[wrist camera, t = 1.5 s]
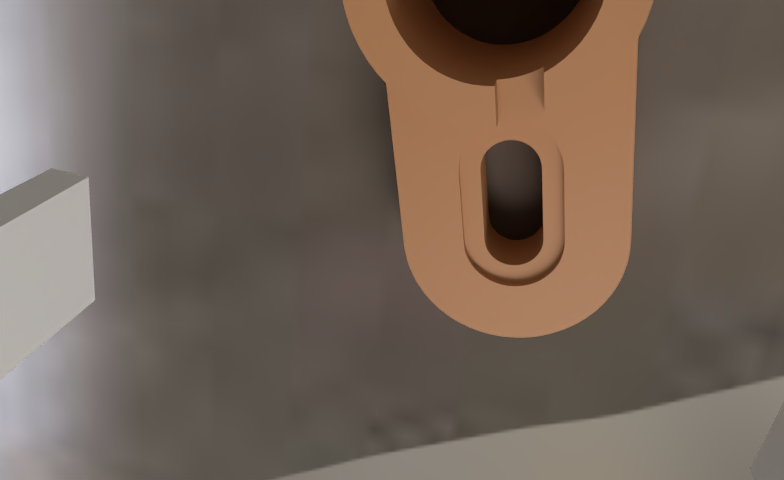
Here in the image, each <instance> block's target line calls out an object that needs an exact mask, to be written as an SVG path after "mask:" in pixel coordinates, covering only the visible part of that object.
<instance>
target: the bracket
mask: <svg viewBox="0 0 784 480" xmlns="http://www.w3.org/2000/svg"><path fill="white" fill-rule="evenodd" d="M343 3H344V8H345V12H346V16H347V19H348V21H349V24H350V27H351V30H352V32H353V35H354V37H355V39H356V41H357V43H358V45H359V47H360V49H361V51H362V52H363V54H364V56H365V57H366V59H367V61H368V62H369V63H370V65H371V66H372V67H373V69H374V70H375V72H376V73H377V74H378V75H379V76H380V77H381V78H382V79H383V81H384V82H385V83H386V87H387V96H388V105H389V114H390V122H391V131H392V140H393V149H394V158H395V167H396V176H397V185H398V194H399V203H400V212H401V221H402V230H403V239H404V247H405V253H406V257H407V260H408V264H409V266H410V269H411V271H412V274H413V276H414V277H415V279H416V281H417V283H418V285H419V286H420V287H421V289H422V290H423V292H424V293H425V294H426V295H427V297H428V298H429V299H430V300H431V301H432V302H433V303H434V304H435V305H436V306H437V307H438V308H439V309H440V310H442V311H443V312H444V313H446V314H447V315H448V316H450V317H451V318H453V319H455V320H456V321H458V322H460V323H462V324H464V325H466V326H468V327H470V328H473V329H475V330H478V331H481V332H484V333H488V334H492V335H497V336H504V337H535V336H541V335H547V334H551V333H554V332H558V331H561V330H563V329H566V328H568V327H570V326H573V325H575V324H577V323H579V322H580V321H582V320H583V319H585V318H587V317H588V316H590V315H591V314H592V313H593V312H595V311H596V310H597V309H598V308H599V307H600V306H601V305H602V304H603V303H605V301H606V300H607V299H608V298H609V297H610V295H611V294H612V293H613V292H614V290H615V288H616V287H617V285H618V284H619V282H620V280H621V278H622V276H623V274H624V271H625V268H626V266H627V263H628V258H629V254H630V246H631V226H632V198H633V169H634V141H635V112H636V84H637V55H638V37H639V35H640V33H641V31H642V29H643V27H644V25H645V23H646V20H647V17H648V15H649V12H650V9H651V7H652V4H653V0H580V1H579V2H578V3H577V5H576V6H575V8H574V9H573V10H572V11H571V13H570V14H569V15H568V16H567V17H566V18H565V19H564V20H563V21H562V22H561V23H560V24H558V25H557V26H556V27H554V28H553V29H552V30H550V31H549V32H547V33H545V34H543V35H541V36H539V37H537V38H535V39H532V40H529V41H526V42H522V43H517V44H510V45H498V44H490V43H485V42H481V41H478V40H475V39H473V38H471V37H468V36H466V35H465V34H463V33H461V32H460V31H458V30H457V29H456V28H454V27H453V26H452V25H451V24H450V23H449V22H448V21H447V20H446V19H445V18H444V17H443V16H442V15H441V13H440V12H439V11H438V9H437V8H436V6H435V4H434V3H433V1H432V0H343ZM505 140H517V141H521V142H524V143H526V144H528V145H529V146H531V147H532V148H533V149H534V150H535V151H536V152H537V154H538V155H539V158H540V160H541V164H542V194H543V223H542V225H541V227H540V229H539V230H538V231H537V232H536V233H535V234H534V235H532V236H531V237H529V238H526V239H522V240H511V239H507V238H505V237H503V236H501V235H499V234H498V233H497V232H496V231H495V230H494V228H493V227H492V225H491V223H490V219H489V205H488V187H487V169H486V152H487V150H488V149H489V148H490V147H492V146H493V145H495V144H496V143H499V142H501V141H505Z"/></svg>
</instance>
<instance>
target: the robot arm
mask: <svg viewBox="0 0 784 480" xmlns="http://www.w3.org/2000/svg"><path fill="white" fill-rule="evenodd" d="M93 301H95V291H94V273H93V254H92V235H91V216H90V197H89V178H88V177H86V176H82V175H78V174H73V173H69V172H65V171H61V170H56V169H52V168H51V169H49V170H47V171H45V172H44V173H42V174H40V175H38V176H36V177H34V178H32V179H30V180H28V181H26V182H24V183H22V184H20V185H18V186H16V187H14V188H12V189H10V190H8V191H6V192H4V193H2V194H0V380H1V379H2V378H3V377H4V376H6V375H7V374H8V373H9V372H10V371H12V370H13V369H14V368H15V367H16V366H17V365H19V364H20V363H21V362H22V361H23V360H25V359H26V358H27V357H28V356H29V355H30V354H32V353H33V352H34V351H35V350H36V349H38V348H39V347H40V346H41V345H42V344H44V343H45V342H46V341H47V340H48V339H49V338H51V337H52V336H53V335H54V334H55V333H57V332H58V331H59V330H60V329H61V328H63V327H64V326H65V325H66V324H67V323H68V322H70V321H71V320H72V319H73V318H74V317H76V316H77V315H78V314H79V313H80V312H82V311H83V310H84V309H85V308H86V307H87V306H89V305H90V304H91V303H92V302H93ZM750 468H751V472H752V474H753V477H754V480H784V403H783V405H782V407H781V409H780V411H779V413H778V415H777V417H776V419H775V421H774V423H773V424H772V427H771V428H770V430H769V432H768V434H767V436H766V438H765V440H764V442H763V444H762V446H761V448H760V450H759V452H758V454H757V456H756V458H755V459H754V461H753V463H752V465H751V467H750Z"/></svg>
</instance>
